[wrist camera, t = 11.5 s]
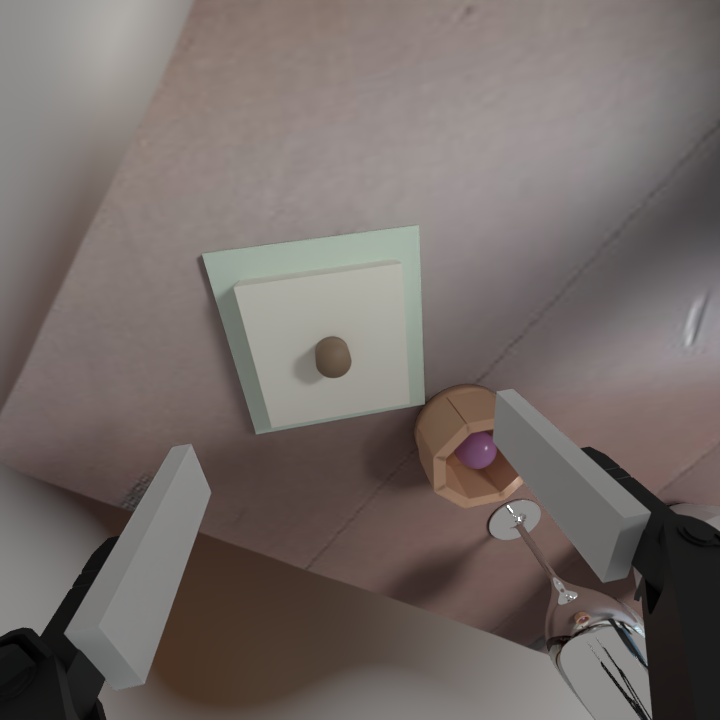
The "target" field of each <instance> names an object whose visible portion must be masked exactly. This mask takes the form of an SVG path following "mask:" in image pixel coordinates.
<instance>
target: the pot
mask: <svg viewBox="0 0 720 720" xmlns="http://www.w3.org/2000/svg"><path fill="white" fill-rule="evenodd" d="M495 403H496V394H494V393H493V392H492V391H491V390H489V389H487V388H485V387H483V386H479V385H474V384H464V385H457V386H453V387H450V388H448V389H446V390H443V391H441V392H440V393H438V394H437V395H435V396H434V397H433V398H431V399H430V400H429V401H428V402H427V403H426V404H425V405H424V407H423V408H422V409H421V411H420V413H419V414H418V417H417V419H416V422H415V426H414V438H415V442H416V444H417V446H418V449H419V459H420V461H421V464H422V466H423V468H424V470H425V472H426V475H427V477H428V479H429V481H430V483H431V486H432V488H433V490H434V492H435V493H437V494H439V495H441V496H442V497H444V498H446V499H448V500H450V501H451V502H453V503H455V504H457V505H459V506H461V507H462V508H468V507H473V506H477V505H482V504H487V503H492V502H497V501H501V500H504V499H506V498H507V497H508V496H509V495H510V494H512V493H513V492H514V491H515V490H516V489H517V488H518V487H519V486H520V485H521V484H523V483H524V481H523V480H522V478H521V477H520V476H519V474H518V473H517V472H516V471H515V469H514V468H513V467H512V465H511V464H510V463H509V462H508V460H507V459H506V458H505V456H504V455H503V454H502V453H501V451H500V450H499V449H498V447H497V446H496V445H495V444H494V442H493V431H494V417H495Z"/></svg>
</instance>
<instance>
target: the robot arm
mask: <svg viewBox="0 0 720 720" xmlns="http://www.w3.org/2000/svg"><path fill="white" fill-rule="evenodd" d="M493 442H494V444H495V445H496V446H497V447H498V449H499V450H500V451H501V453H502V454H503V455H504V456H505V458H506V459H507V460H508V462H509V463H510V464H511V465H512V467H513V468H514V469H515V471H516V472H517V473H518V474H519V476H520V477H521V478H522V480H523V481H524V482H525V483H526V485H527V486H528V487H529V489H530V490H531V491H532V492H533V494H534V495H535V496H536V498H537V499H538V500H539V501H540V503H541V504H542V505H543V507H544V508H545V509H546V510H547V512H548V513H549V514H550V516H551V517H552V518H553V519H554V521H555V522H556V523H557V525H558V526H559V527H560V528H561V530H562V531H563V532H564V534H565V535H566V536H567V537H568V539H569V540H570V541H571V543H572V544H573V545H574V546H575V548H576V549H577V550H578V552H579V553H580V554H581V555H582V557H583V558H584V559H585V561H586V562H587V563H588V564H589V566H590V567H591V568H592V570H593V571H594V572H595V573H596V575H597V576H598V577H599V579H600V580H601V581H602V582H603V583H605V582H610V581H614V580H619V579H623V578H627V576H628V574H629V571H630V568H631V565H633V566H634V567H635V568H636V569H637V571H638V572H639V573H640V574H641V575H642V577H641V580H640V582H639V585H638V587H637V590H636V592H635V596H634V600H636V601H639V599H640V597H641V598H642V610H643V621H644V632H645V643H646V654H647V665H648V676H649V687H650V699H651V710H652V720H720V531H719V530H718V529H716V528H715V527H713V526H711V525H710V524H708V523H706V522H705V521H702V520H700V519H697V518H694V517H692V516H687V515H681V514H677V513H675V512H674V511H673V510H671V509H670V508H669V507H668V506H667V505H665V504H664V503H663V502H662V501H661V500H659V499H658V498H657V497H656V496H655V495H653V494H652V493H651V492H650V491H649V490H647V489H646V488H645V487H644V486H643V485H642V484H640V483H639V482H638V481H637V480H636V479H634V478H631V476H630V474H628V473H627V472H626V471H625V470H624V469H622V468H620V466H619V465H618V464H616V463H615V462H614V461H613V460H612V459H610V458H609V457H608V456H607V455H605V454H603V453H601V452H599V451H597V450H595V449H593V448H592V447H585V448H579V447H578V446H576V445H575V444H574V443H573V442H572V441H571V440H570V439H569V438H568V437H566V436H565V435H564V434H563V433H562V432H561V431H560V430H559V429H557V428H556V427H555V426H554V425H553V424H552V423H551V422H550V421H549V420H547V419H546V418H545V417H544V416H543V415H542V414H541V413H540V412H538V411H537V410H536V409H535V408H534V407H533V406H532V405H531V404H530V403H528V402H527V401H526V400H525V399H524V398H523V397H522V396H521V395H520V394H518V393H517V392H516V391H515V390H514V389H508V390H502V391H496V403H495V417H494V431H493ZM210 495H211V490H210V488H209V486H208V483H207V481H206V478H205V476H204V473H203V471H202V469H201V466H200V464H199V461H198V459H197V456H196V454H195V452H194V449H193V447H192V444H186V445H180V446H174V447H172V448H171V450H170V451H169V453H168V455H167V456H166V458H165V460H164V462H163V463H162V465H161V467H160V469H159V470H158V472H157V474H156V475H155V477H154V479H153V481H152V482H151V484H150V486H149V488H148V489H147V491H146V493H145V494H144V496H143V498H142V500H141V501H140V503H139V505H138V506H137V508H136V510H135V512H134V513H133V515H132V517H131V519H130V520H129V522H128V524H127V525H126V527H125V529H124V531H123V532H122V534H121V536H117V537H111V538H108V539H107V540H106V541H105V542H104V543H103V544H102V545H101V546H100V547H99V548H98V549H97V550H96V551H95V552H94V553H93V554H92V555H91V557H90V559H89V560H88V562H87V563H86V565H85V567H84V568H83V570H82V574H81V575H79V576H78V578H77V579H76V581H75V582H74V584H73V588H72V589H70V590H69V592H68V593H67V595H66V597H65V598H64V600H63V601H62V603H61V605H60V606H59V608H58V609H57V611H56V613H55V614H54V616H53V617H52V619H51V621H50V622H49V624H48V625H47V627H46V628H45V630H44V632H43V633H42V635H41V636H40V637H39V636H38V635H37V634H36V633H35V632H34V631H33V629H31V628H20V629H16V630H13V631H10V632H8V633H6V634H5V635H3V636H1V637H0V720H106V717H105V713H104V709H103V706H102V703H101V702H100V701H99V699H98V698H97V697H98V695H99V693H100V690H101V688H102V686H103V683H104V681H105V680H106V682H107V683H109V685H110V686H111V687H112V688H113V689H114V690H120V689H124V688H129V687H133V686H138V685H142V684H145V681H146V678H147V675H148V672H149V669H150V667H151V664H152V661H153V658H154V655H155V652H156V650H157V647H158V644H159V641H160V638H161V635H162V632H163V629H164V626H165V624H166V621H167V618H168V615H169V612H170V610H171V607H172V603H173V601H174V598H175V595H176V592H177V589H178V586H179V584H180V581H181V578H182V575H183V572H184V569H185V567H186V564H187V561H188V558H189V555H190V552H191V549H192V547H193V544H194V541H195V538H196V535H197V532H198V529H199V527H200V524H201V521H202V518H203V515H204V512H205V509H206V506H207V504H208V501H209V498H210Z"/></svg>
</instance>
